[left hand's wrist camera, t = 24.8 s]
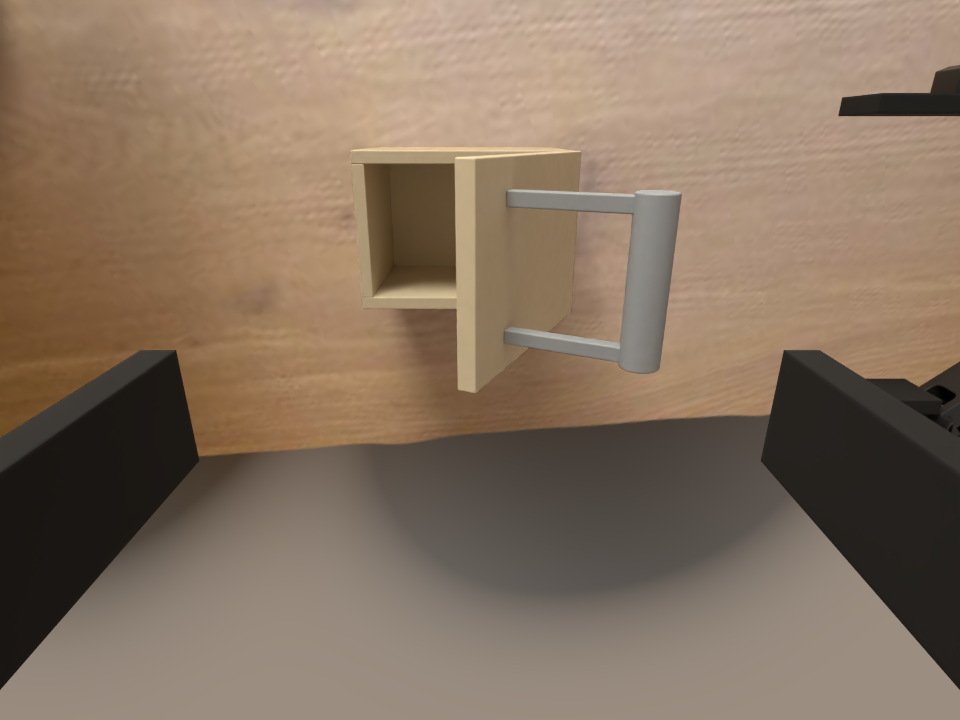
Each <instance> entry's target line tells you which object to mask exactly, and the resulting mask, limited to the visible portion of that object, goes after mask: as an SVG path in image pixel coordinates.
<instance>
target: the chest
mask: <svg viewBox="0 0 960 720" xmlns="http://www.w3.org/2000/svg"><path fill="white" fill-rule="evenodd" d="M554 151H571V150H564V149H557V148H447V147H379V148H369V149H358V150H350V158H351V171H352V184H353V197H354V210H355V223H356V236H357V249H358V262H359V275H360V287H361V297H362V298H361V300H362V309H457V295H456V223H455V158H456V157H469V156H486V155H503V154H520V153H537V152H554Z"/></svg>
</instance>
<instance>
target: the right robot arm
mask: <svg viewBox="0 0 960 720" xmlns="http://www.w3.org/2000/svg"><path fill="white" fill-rule="evenodd" d="M839 116H960V65H957V66H951V67H947V68H945V69H942V70H940V71H937V72H936V73H935V77H934V81H933V85H932V89H931V92H930V93H880V94H871V95H862V96H853V97H844V98H842V101H841V106H840V111H839ZM866 380H868V381H869V382H871V383H872V384H874V385H876V386H877V387H879V388H880V389H882V390H884V391H885V392H887V393H888V394H890V395H892V396H893V397H895V398H896V399H898V400H900V401H901V402H903V403H904V404H906V405H908V406H909V407H911V408H912V409H914V410H916V411H917V412H919V413H920V414H922V415H924V416H925V417H927V418H928V419H930V420H932V421H933V422H935V423H936V424H938V425H940V426H941V427H943V428H944V429H946V430H948V431H949V432H951V433H952V434H954V435H956V436H957V437H959V438H960V362H958V363H957V364H955V365H954V366H952V367H950V368H949V369H947V370H946V371H944V372H942V373H941V374H939V375H938V376H936V377H934V378H933V379H931V380H930V381H928V382H926V383H925V384H923V385H921V386H920V387H918V386H916V385H914V384H913V383H911V382H909V381H907V380H906V379H866ZM941 405H943V406H941Z"/></svg>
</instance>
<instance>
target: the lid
mask: <svg viewBox="0 0 960 720" xmlns="http://www.w3.org/2000/svg"><path fill="white" fill-rule="evenodd" d="M580 165H581V151H554V152H537V153H520V154H503V155H486V156H469V157H456V158H455V223H456V295H457V366H458V390H460V391H465V392H470V393H477V392H478V391H479V390H480V389H482V388H483V387H484V386H485V385H486V384H487V383H489V382H490V381H491V380H492V379H493V378H494V377H496V376H497V375H498V374H499V373H500V372H502V371H503V370H504V369H505V368H506V367H507V366H509V365H510V364H511V363H512V362H513V361H514V360H516V359H517V358H518V357H519V356H520V355H522V354H523V353H524V352H525V351H526V350H527V349H529V348H534V349H540V350H546V351H552V352H558V353H564V354H571V355H577V356H583V357H589V358H595V359H601V360H607V361H613V362H618V365H619V367H620V368H622V369H623V370H625V371H628V372H632V373H639V374H648V373H654V372H656V371H658V370H659V368H660V361H661V353H662V345H663V337H664V329H665V321H666V314H667V306H668V298H669V290H670V282H671V274H672V266H673V259H674V251H675V243H676V235H677V227H678V219H679V212H680V204H681V196H682V194H681V193H680V192H677V191H667V190H640V191H636V192H635V194H617V193H593V192H579V181H580ZM578 211H584V212H602V213H620V214H633V216H632V226H631V237H630V247H629V257H628V267H627V277H626V288H625V298H624V308H623V318H622V328H621V339H620V343H618V342H611V341H604V340H598V339H591V338H584V337H577V336H571V335H564V334H557V333H551V332H549V331H550V330H551V329H552V328H553V327H554V326H556V325H557V324H558V323H559V322H560V321H562V320H563V319H564V318H565V317H566V316H567V315H569V314H570V313H571V307H572V292H573V276H574V260H575V244H576V228H577V212H578Z"/></svg>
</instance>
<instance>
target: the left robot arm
mask: <svg viewBox="0 0 960 720" xmlns="http://www.w3.org/2000/svg"><path fill="white" fill-rule="evenodd" d="M198 462H199V457H198V453H197V448H196V443H195V438H194V434H193V429H192V424H191V419H190V415H189V410H188V405H187V400H186V396H185V391H184V386H183V381H182V376H181V372H180V367H179V362H178V357H177V353H176V350H140V351H139V352H137V353H135V354H134V355H132V356H131V357H129V358H127V359H126V360H124V361H123V362H121V363H119V364H118V365H116V366H115V367H113V368H111V369H110V370H108V371H107V372H105V373H103V374H102V375H100V376H99V377H97V378H96V379H94V380H92V381H91V382H89V383H88V384H86V385H84V386H83V387H81V388H80V389H78V390H76V391H75V392H73V393H72V394H70V395H68V396H67V397H65V398H64V399H62V400H60V401H59V402H57V403H56V404H54V405H52V406H51V407H49V408H48V409H46V410H44V411H43V412H41V413H40V414H38V415H36V416H35V417H33V418H32V419H30V420H28V421H27V422H25V423H24V424H22V425H20V426H19V427H17V428H16V429H14V430H12V431H11V432H9V433H8V434H6V435H4V436H3V437H1V438H0V689H1V688H2V687H3V686H4V685H5V684H6V683H7V681H8V680H9V679H10V678H11V677H12V676H13V674H14V673H15V672H16V671H17V670H18V669H19V668H20V666H21V665H22V664H23V663H24V662H25V661H26V660H27V658H28V657H29V656H30V655H31V654H32V653H33V651H34V650H35V649H36V648H37V647H38V646H39V644H40V643H41V642H42V641H43V640H44V639H45V638H46V637H47V635H48V634H49V633H50V632H51V631H52V630H53V628H54V627H55V626H56V625H57V624H58V623H59V622H60V620H61V619H62V618H63V617H64V616H65V615H66V614H67V612H68V611H69V610H70V609H71V608H72V607H73V605H74V604H75V603H76V602H77V601H78V600H79V599H80V597H81V596H82V595H83V594H84V593H85V592H86V591H87V589H88V588H89V587H90V586H91V585H92V584H93V582H94V581H95V580H96V579H97V578H98V577H99V576H100V574H101V573H102V572H103V571H104V570H105V569H106V568H107V566H108V565H109V564H110V563H111V562H112V561H113V559H114V558H115V557H116V556H117V555H118V554H119V553H120V551H121V550H122V549H123V548H124V547H125V546H126V545H127V543H128V542H129V541H130V540H131V539H132V538H133V536H134V535H135V534H136V533H137V532H138V531H139V530H140V528H141V527H142V526H143V525H144V524H145V523H146V522H147V520H148V519H149V518H150V517H151V516H152V515H153V513H154V512H155V511H156V510H157V509H158V508H159V507H160V505H161V504H162V503H163V502H164V501H165V500H166V498H167V497H168V496H169V495H170V494H171V493H172V492H173V490H174V489H175V488H176V487H177V486H178V485H179V483H180V482H181V481H182V480H183V479H184V478H185V477H186V475H187V474H188V473H189V472H190V471H191V470H192V468H193V467H194V466H195V465H196V464H197V463H198ZM761 462H762V463H763V464H764V465H765V466H766V467H767V469H768V470H769V471H770V472H771V473H772V474H773V475H774V477H775V478H776V479H777V480H778V481H779V482H780V484H781V485H782V486H783V487H784V488H785V489H786V490H787V492H788V493H789V494H790V495H791V496H792V497H793V498H794V500H795V501H796V502H797V503H798V504H799V505H800V507H801V508H802V509H803V510H804V511H805V512H806V513H807V515H808V516H809V517H810V518H811V519H812V520H813V521H814V523H815V524H816V525H817V526H818V527H819V528H820V530H821V531H822V532H823V533H824V534H825V535H826V536H827V538H828V539H829V540H830V541H831V542H832V543H833V544H834V546H835V547H836V548H837V549H838V550H839V551H840V553H841V554H842V555H843V556H844V557H845V558H846V559H847V560H848V562H849V563H850V564H851V565H852V566H853V567H854V569H855V570H856V571H857V572H858V573H859V574H860V575H861V577H862V578H863V579H864V580H865V581H866V582H867V584H868V585H869V586H870V587H871V588H872V589H873V591H874V592H875V593H876V594H877V595H878V596H879V597H880V599H881V600H882V601H883V602H884V603H885V604H886V605H887V607H888V608H889V609H890V610H891V611H892V612H893V613H894V615H895V616H896V617H897V618H898V619H899V620H900V622H901V623H902V624H903V625H904V626H905V627H906V628H907V630H908V631H909V632H910V633H911V634H912V635H913V637H914V638H915V639H916V640H917V641H918V642H919V643H920V645H921V646H922V647H923V648H924V649H925V650H926V651H927V653H928V654H929V655H930V656H931V657H932V658H933V659H934V661H935V662H936V663H937V664H938V665H939V666H940V668H941V669H942V670H943V671H944V672H945V673H946V674H947V676H948V677H949V678H950V679H951V680H952V681H953V683H954V684H955V685H956V686H957V687H958V688H959V689H960V438H959V437H957V436H956V435H954V434H952V433H951V432H949V431H948V430H946V429H944V428H943V427H941V426H940V425H938V424H936V423H935V422H933V421H932V420H930V419H928V418H927V417H925V416H924V415H922V414H920V413H919V412H917V411H916V410H914V409H912V408H911V407H909V406H908V405H906V404H904V403H903V402H901V401H900V400H898V399H896V398H895V397H893V396H892V395H890V394H888V393H887V392H885V391H884V390H882V389H880V388H879V387H877V386H876V385H874V384H872V383H871V382H869V381H868V380H866V379H864V378H863V377H861V376H860V375H858V374H857V373H855V372H853V371H852V370H850V369H849V368H847V367H845V366H844V365H842V364H841V363H839V362H837V361H836V360H834V359H833V358H831V357H829V356H828V355H826V354H825V353H823V352H821V351H820V350H784V353H783V357H782V362H781V367H780V372H779V376H778V381H777V386H776V391H775V396H774V400H773V405H772V410H771V415H770V419H769V424H768V429H767V434H766V438H765V443H764V448H763V453H762V457H761Z"/></svg>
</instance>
